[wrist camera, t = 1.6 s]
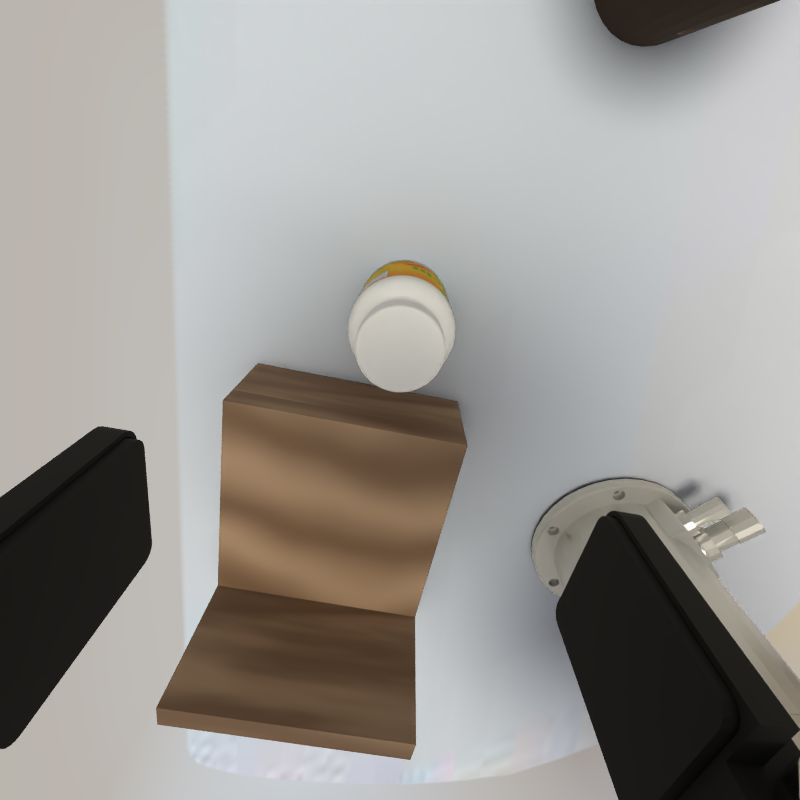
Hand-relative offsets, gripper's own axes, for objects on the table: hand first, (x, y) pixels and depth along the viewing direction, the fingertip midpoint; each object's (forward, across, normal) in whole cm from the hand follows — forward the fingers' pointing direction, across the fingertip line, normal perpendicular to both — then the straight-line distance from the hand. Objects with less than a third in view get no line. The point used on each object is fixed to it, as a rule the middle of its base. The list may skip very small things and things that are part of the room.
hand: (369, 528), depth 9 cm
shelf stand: (+20, +2, +14) cm, 25 cm away
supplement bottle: (+21, 0, 0) cm, 21 cm away
